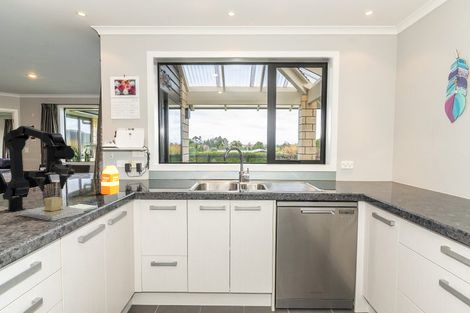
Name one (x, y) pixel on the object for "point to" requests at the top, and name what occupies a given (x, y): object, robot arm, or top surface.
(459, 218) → the top surface
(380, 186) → the top surface
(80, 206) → the pad
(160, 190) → the top surface
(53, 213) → the hole plate
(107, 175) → the orange juice
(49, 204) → the tan wooden block
